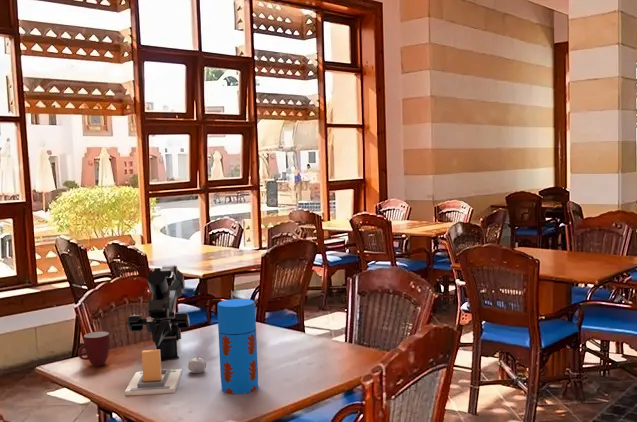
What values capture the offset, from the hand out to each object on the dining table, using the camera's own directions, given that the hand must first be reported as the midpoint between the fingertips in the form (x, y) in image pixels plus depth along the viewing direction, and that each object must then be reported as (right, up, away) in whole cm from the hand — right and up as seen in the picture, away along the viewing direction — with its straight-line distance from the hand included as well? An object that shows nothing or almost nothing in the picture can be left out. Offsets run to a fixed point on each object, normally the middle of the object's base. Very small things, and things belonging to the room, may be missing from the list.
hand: (157, 345), depth 213 cm
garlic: (+12, -9, +3) cm, 15 cm away
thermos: (+27, -10, -13) cm, 32 cm away
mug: (-24, -9, +14) cm, 29 cm away
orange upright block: (+1, -9, -10) cm, 14 cm away
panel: (+1, -10, -7) cm, 12 cm away
